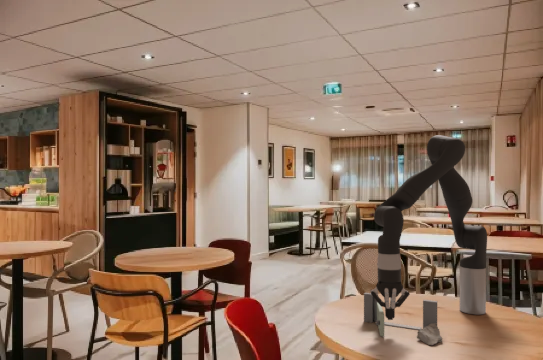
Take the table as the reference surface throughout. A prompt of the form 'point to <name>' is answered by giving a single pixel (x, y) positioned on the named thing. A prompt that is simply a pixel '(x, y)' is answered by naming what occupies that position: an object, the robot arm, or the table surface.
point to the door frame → (371, 316)
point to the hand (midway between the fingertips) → (390, 319)
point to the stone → (430, 334)
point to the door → (380, 319)
